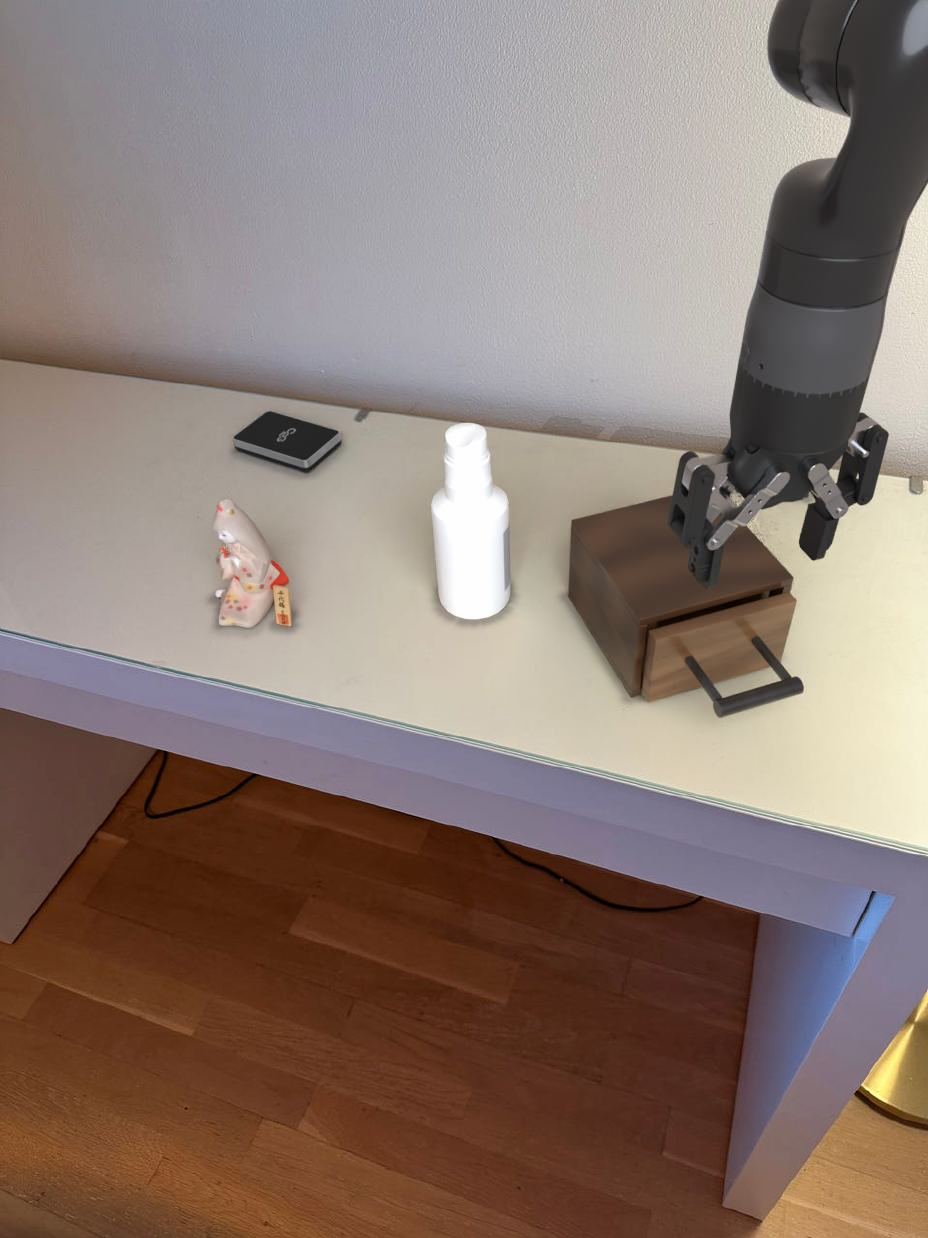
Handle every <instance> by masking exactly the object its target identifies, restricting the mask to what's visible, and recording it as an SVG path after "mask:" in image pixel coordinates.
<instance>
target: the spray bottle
mask: <svg viewBox="0 0 928 1238" xmlns="http://www.w3.org/2000/svg"><path fill="white" fill-rule="evenodd" d="M444 441H445V442H444V443H445V452H444V456H443V464H444V486H443V487H441V488H440V489H439V490H437V492H436V493H435V494H434V496H433V497H432V500H431V504H430V517H431V526H432V537H433V548H434V558H435V570H436V571H435V572H436V581H437V582H436V583H437V591H438V598H439V602H440V604H441V605H442V606H443V608H444V609H445V610H446V612H448V613H449V614H451V615H453V616H454V617H457V618H461V619H464V620H481V619H488V618H490V617H493V616H495V615H497V614H498V613H499V612H501V611H502V610H503V609H505V607H506V605H507V604H508V602H509V601H510V599H511V591H512V590H511V589H512V588H511V541H510V537H511V536H510V535H511V534H510V502H509V499H508V497H507V496H508V495H507V494H506V492H505V491H504V490H503V489H501V487H499V486H498V485H496V484H494V483H493V475H492V468H491V467H492V466H491V465H492V464H491V453H490V450H489V448H488V434H487V430H486V429H485V427H484V426H482V425H480V424H478V423H473V422H460V423H456V424H454V425H452V426H450V427H449V428H447V430H446V431H445V434H444Z"/></svg>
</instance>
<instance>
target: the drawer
mask: <svg viewBox="0 0 928 1238" xmlns="http://www.w3.org/2000/svg"><path fill="white" fill-rule="evenodd" d="M769 594H770V591H767V592H763V593H759V594H756V595H752V596H748V597H745V598H741V599H738V600H734V601H730V602H727V603H723V604H719V605H716V606H712V607H709V608H705V609H701V610H698V611H694V612H690V613H687V614H683V615H679V616H676V617H672V618H669V619H665V620H661V621H658V622H654V623H650V624H648V628H647V636H646V644H645V653H644V661H643V669H642V677H643V684H642V692H641V693H642V694H641V696H642V697H643V698H644V700H645V701H646V702H647V703H648V704H649V703H653V702H655V701H659V700H662V699H665V698H669V697H672V696H676V695H679V694H683V693H686V692H689V691H693V690H697V689H700V688H703V690H704V691H705V692H706V694H707V696H708V697H709V699H710V700H711V701H712V702H713V703H712V708H713V711H714V714H715V715H716V716H717V717H718V718H719V719H722V718H725V717H728V716H732V715H735V714H739V713H742V712H747V711H749V710H752V709H755V708H759V707H763V706H765V705H768V704H771V703H776V702H778V701H782V700H786V699H788V698H792V697H795V696H798V695H801V694H803V693H804V691H805V687H804V683H803V680H802V679H801V678H800V677H799V676H798V675H797V676H796V675H795V676H792V675H791V674H790V673H789V671H788V670H787V669H786V668H785V666H784V665H783V664H782V659H783V656H784V651H785V648H786V644H787V640H788V637H789V633H790V629H791V626H792V622H793V617H794V614H795V611H796V607H797V603H798V600H797V598H795V596H793V594H792V593H791V591H790V592H786V593H783V594H779V595H776V596H772V597H769ZM767 668H771V669H772V671H773V672H774V673H775V674H776V675H777V677H778V678H779V679H780V680H777V681H774V682H772V683H767V684H765V685H761V686H758V687H754V688H751V689H747V690H745V691H741V692H737V693H735V694H731V695H728V696H724V697H723V696H722V694H721V693H720V692H719V690H718V688H716V686H715V684H717V683H720V682H723V681H727V680H730V679H735V678H738V677H740V676H744V675H748V674H750V673H754V672H757V671H761V670H764V669H767Z"/></svg>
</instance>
